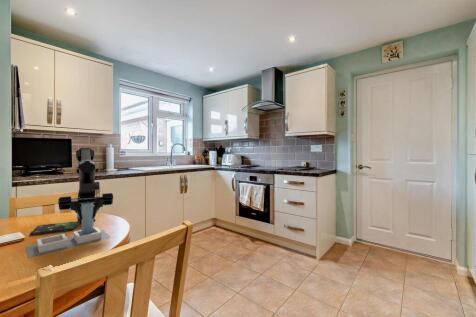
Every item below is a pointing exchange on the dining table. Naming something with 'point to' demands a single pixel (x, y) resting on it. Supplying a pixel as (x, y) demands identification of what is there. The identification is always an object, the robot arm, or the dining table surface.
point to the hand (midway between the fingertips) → (87, 218)
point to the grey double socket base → (64, 242)
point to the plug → (87, 218)
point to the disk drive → (54, 228)
